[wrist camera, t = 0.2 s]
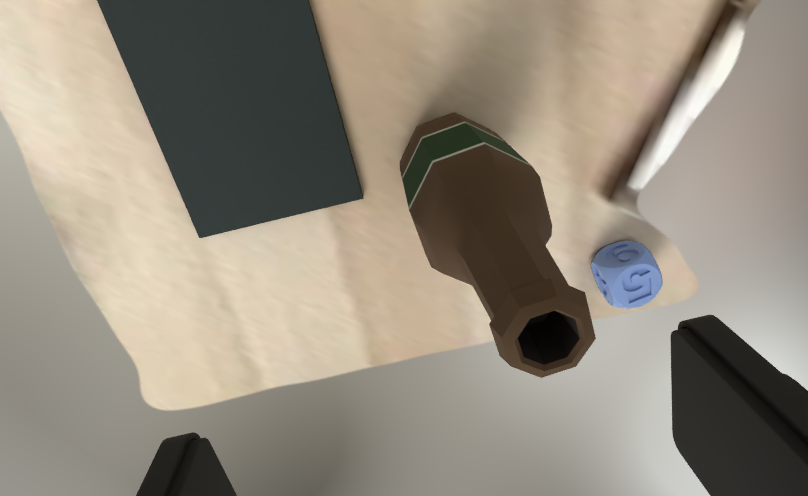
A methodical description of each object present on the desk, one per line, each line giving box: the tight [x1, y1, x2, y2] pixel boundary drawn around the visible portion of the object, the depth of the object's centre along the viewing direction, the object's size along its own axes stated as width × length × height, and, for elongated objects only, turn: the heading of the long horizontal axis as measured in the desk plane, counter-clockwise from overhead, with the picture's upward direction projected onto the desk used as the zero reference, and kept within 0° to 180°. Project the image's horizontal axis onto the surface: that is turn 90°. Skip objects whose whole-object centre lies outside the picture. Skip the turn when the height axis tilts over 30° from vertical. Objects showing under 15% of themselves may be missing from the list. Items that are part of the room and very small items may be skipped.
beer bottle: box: [400, 113, 596, 377], centre depth 29 cm, size 8×8×24 cm
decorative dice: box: [591, 241, 662, 308], centre depth 43 cm, size 4×4×4 cm
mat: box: [97, 0, 363, 238], centre depth 35 cm, size 26×13×1 cm, turn 13°
